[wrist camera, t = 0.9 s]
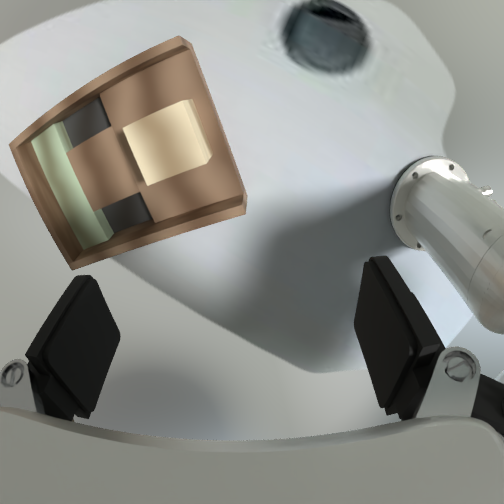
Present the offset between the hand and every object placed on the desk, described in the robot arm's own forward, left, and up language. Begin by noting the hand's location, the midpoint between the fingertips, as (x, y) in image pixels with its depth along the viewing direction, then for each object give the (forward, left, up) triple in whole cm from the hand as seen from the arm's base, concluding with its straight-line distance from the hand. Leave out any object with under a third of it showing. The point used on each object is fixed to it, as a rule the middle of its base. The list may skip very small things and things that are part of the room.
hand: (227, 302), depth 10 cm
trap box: (+13, -4, -24) cm, 27 cm away
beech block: (+6, -4, -22) cm, 23 cm away
